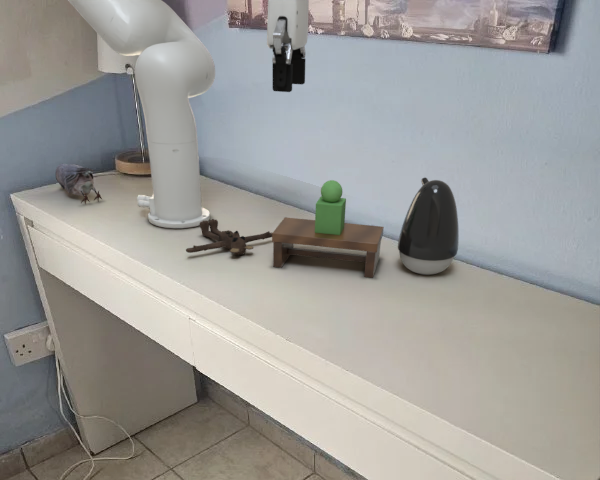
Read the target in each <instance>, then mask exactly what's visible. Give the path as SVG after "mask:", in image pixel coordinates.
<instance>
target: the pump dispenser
mask: <svg viewBox="0 0 600 480" xmlns="http://www.w3.org/2000/svg"><path fill="white" fill-rule="evenodd" d="M420 182H421V185H422V186H421V187H420V188H419V189H418V191H417V192H416V194H415V195H414V197H413V198H412V201H411V203H410V205H409V207H408V209H407V211H406V214H405V217H404V219H403V222H402V225H401V229H400V233H399V237H398V240H397V250H398V251H399V257H400V261H401V263H402V264H403V266H404V267H405V268H406V269H408V270H409V271H411V272H412V273H414V274H418V275H423V276H424V275H426V276H428V275H436V274H439V273H441V272H444V271H446V269H448V267H450V266H451V264H452V262H453V261H454V258H455V256H457V254H458V250H459V239H460V238H459V236H460V235H459V233H460V229H459V215H458V209H457V203H456V199H455V196H454V193H453V191H452V189H451V187H450V186H449V184H448V183H446V182H445V181H443V180H440V179H432V180H429V179H428V178H427V177H423V178H421V180H420Z"/></svg>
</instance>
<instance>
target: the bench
mask: <svg viewBox="0 0 600 480" xmlns="http://www.w3.org/2000/svg"><path fill="white" fill-rule="evenodd" d="M271 233H272V237H271V242H272V243H273V247H272V248H273V251H272V252H273V253H272V254H273V258H272V259H273V261H272V262H273V265H272V266H273V268H281V269H282V268H283V267H284V265H285V263H286V262H287V261H288V258H289V257H290V256H301V257H310V258H320V259H330V260H340V261H348V262H356V263H365V265H364V275H363V277H364V278H371V279H372V278H373V279H374V277H375V272H376V270H377V267H378V264H379V260H380V253H381V243H382V238H383V235H384V226H378V225H369V224H361V223H360V224H359V223H350V222H349V223H348V222H345V223H344V228H343V230H342V232H341V234H340V235H333V234H323V233H315V219H308V218H307V219H306V218H295V217H287V216H285V217H283V219H282V220H281V221H280V223H279V224H278V225H277V226H276V228H275V229H274V230H273V231H272V232H271ZM294 245H300V246H311V247H319V248H320V247H321V248H329V249H339V250H349V251H360V252H365V254H358V253H349V252H338V251H331V250H330V251H329V250H320V249H311V248H310V249H309V248H301V247H294Z"/></svg>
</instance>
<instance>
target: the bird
mask: <svg viewBox="0 0 600 480" xmlns="http://www.w3.org/2000/svg"><path fill="white" fill-rule="evenodd" d="M93 172H95V169H92V168H91V167H90V168H89V167H85V166H84V167H83V166H81V165H78V164H74V163H70V164H66V163H59V164H58V165H57V167H56V168H55V180H56V181H57V183H58V184H59V185H60V187H61V188H62V190H65V191H66V192H67V193H69V194H70V193H71V194H73V195H76V196H83V199H82V200H81V202H80V204H82V203H83V202H84V204H85V205H87V202H88V203H91V201H90V199H89V197H88V195H89V194H90V193H91V191H93V192H94V193H95V194H96V196H94V198H93V201H95V200H97V202H98V203H99V201H100V200H103V198H102V196H101V193H100V190H98V191H97V190H96V188H95V186H94V183H95V182H94V173H93Z"/></svg>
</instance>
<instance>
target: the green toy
mask: <svg viewBox="0 0 600 480" xmlns="http://www.w3.org/2000/svg"><path fill="white" fill-rule="evenodd" d="M342 196H343V187H342V185H341V183H340V182H338V181H337V180H333V179H331V180H330V179H329V180H327V181H325V182H323V184H322V185H321V189H320V197H319V198H318V200H317V201H316V202H315V212H314V213H315V214H314V215H315V217H314V220H315V233H323V234H333V235H340V234H341V232H342V230H343V228H344V223H346V222H345V221H346V208H347V207H346V205H347V198H345V197H342Z"/></svg>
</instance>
